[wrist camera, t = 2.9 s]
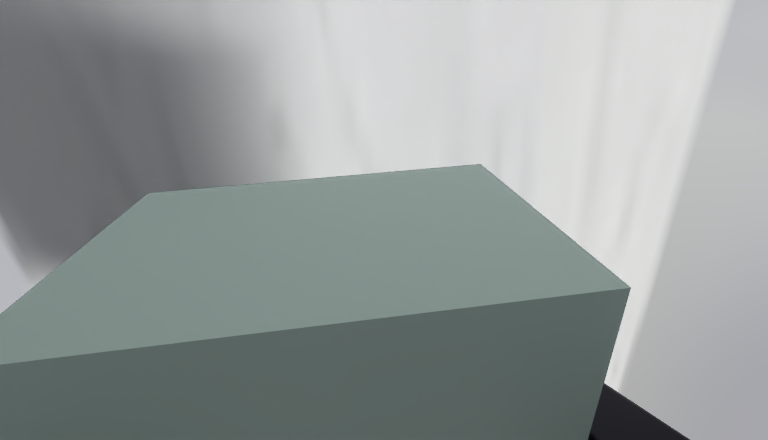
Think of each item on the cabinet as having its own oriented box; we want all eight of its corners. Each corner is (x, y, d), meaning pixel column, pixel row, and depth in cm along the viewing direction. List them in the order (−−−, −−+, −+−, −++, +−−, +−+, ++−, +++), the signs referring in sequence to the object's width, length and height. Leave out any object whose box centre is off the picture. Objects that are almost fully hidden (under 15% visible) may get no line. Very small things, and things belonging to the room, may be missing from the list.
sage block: (464, 414, 10) (537, 618, 7) (235, 448, 10) (178, 690, 6) (480, 163, 7) (631, 288, 4) (147, 193, 7) (-71, 372, 3)
